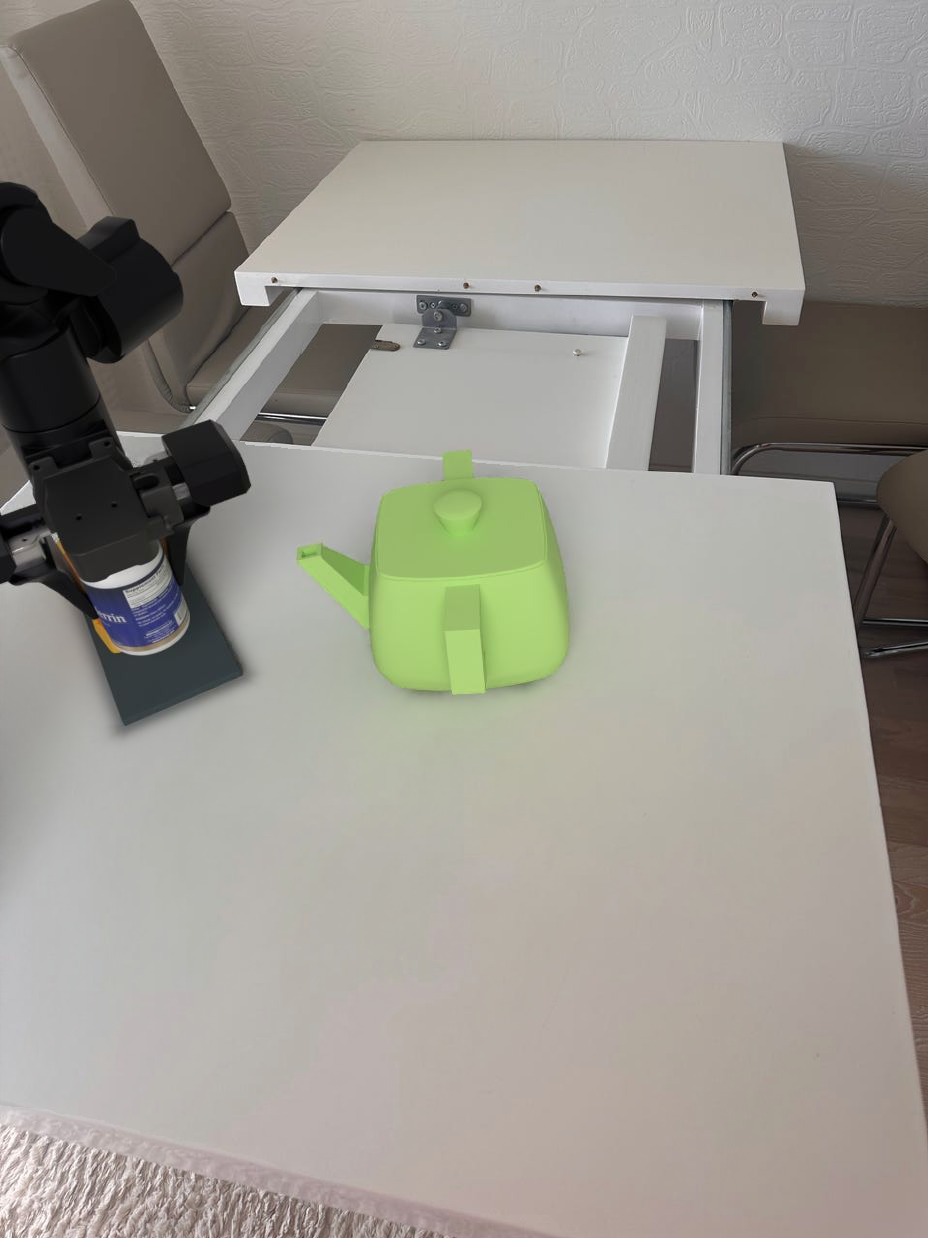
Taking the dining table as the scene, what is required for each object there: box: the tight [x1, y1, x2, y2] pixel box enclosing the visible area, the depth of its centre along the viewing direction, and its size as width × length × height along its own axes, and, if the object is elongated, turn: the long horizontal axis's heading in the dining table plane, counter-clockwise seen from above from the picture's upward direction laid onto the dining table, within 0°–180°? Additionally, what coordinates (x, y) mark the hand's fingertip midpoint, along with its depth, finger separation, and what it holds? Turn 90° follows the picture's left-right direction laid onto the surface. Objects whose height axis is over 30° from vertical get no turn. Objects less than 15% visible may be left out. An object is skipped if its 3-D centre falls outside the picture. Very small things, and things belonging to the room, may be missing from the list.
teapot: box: [295, 448, 570, 696], centre depth 67 cm, size 18×20×13 cm
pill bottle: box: [78, 539, 190, 655], centre depth 64 cm, size 6×6×10 cm
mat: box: [82, 539, 243, 727], centre depth 76 cm, size 9×22×1 cm, turn 28°
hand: (137, 599), depth 66 cm, fingers closed on pill bottle, 6 cm apart
